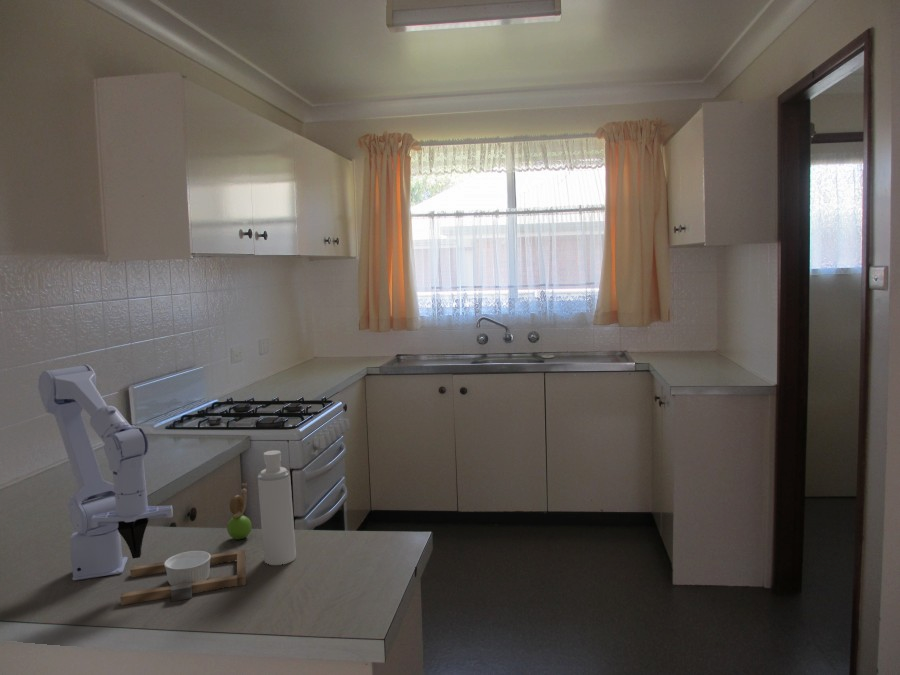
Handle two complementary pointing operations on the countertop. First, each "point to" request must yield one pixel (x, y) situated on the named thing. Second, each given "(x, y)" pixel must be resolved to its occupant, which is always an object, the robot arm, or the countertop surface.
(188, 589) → the brown flat frame
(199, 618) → the countertop surface
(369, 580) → the countertop surface
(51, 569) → the countertop surface
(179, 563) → the ramekin
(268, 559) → the white bottle
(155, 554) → the countertop surface
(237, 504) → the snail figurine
